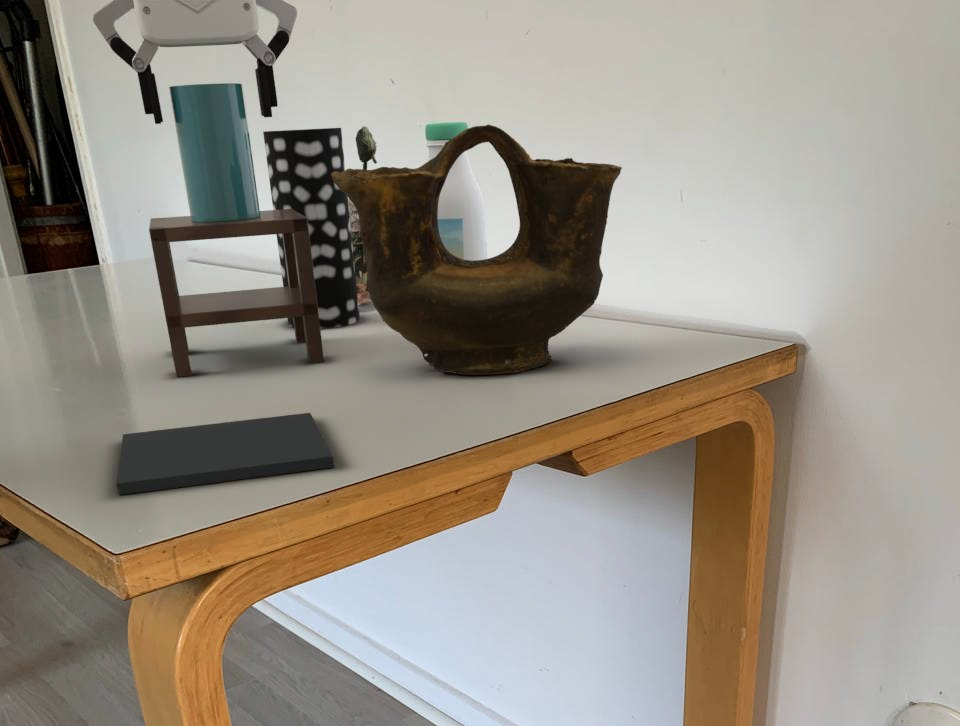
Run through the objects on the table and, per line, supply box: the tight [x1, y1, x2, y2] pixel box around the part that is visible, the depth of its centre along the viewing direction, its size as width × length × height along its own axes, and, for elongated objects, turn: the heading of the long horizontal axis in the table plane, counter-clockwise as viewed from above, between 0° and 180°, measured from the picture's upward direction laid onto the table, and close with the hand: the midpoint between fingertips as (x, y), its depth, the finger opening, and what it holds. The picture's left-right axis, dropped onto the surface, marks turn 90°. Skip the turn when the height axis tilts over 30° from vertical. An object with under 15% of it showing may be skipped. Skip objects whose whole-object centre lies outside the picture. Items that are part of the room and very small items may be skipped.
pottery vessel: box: [331, 123, 623, 376], centre depth 87 cm, size 25×11×20 cm, turn 101°
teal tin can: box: [168, 82, 261, 222], centre depth 92 cm, size 6×9×11 cm
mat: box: [116, 412, 335, 496], centre depth 70 cm, size 14×12×1 cm
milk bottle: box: [424, 121, 488, 261], centre depth 110 cm, size 8×8×20 cm
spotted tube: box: [262, 127, 361, 330], centre depth 111 cm, size 8×8×20 cm
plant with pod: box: [348, 125, 378, 308], centre depth 120 cm, size 8×11×20 cm
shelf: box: [148, 209, 325, 378], centre depth 97 cm, size 14×12×13 cm
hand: (213, 120), depth 90 cm, fingers open, 9 cm apart
